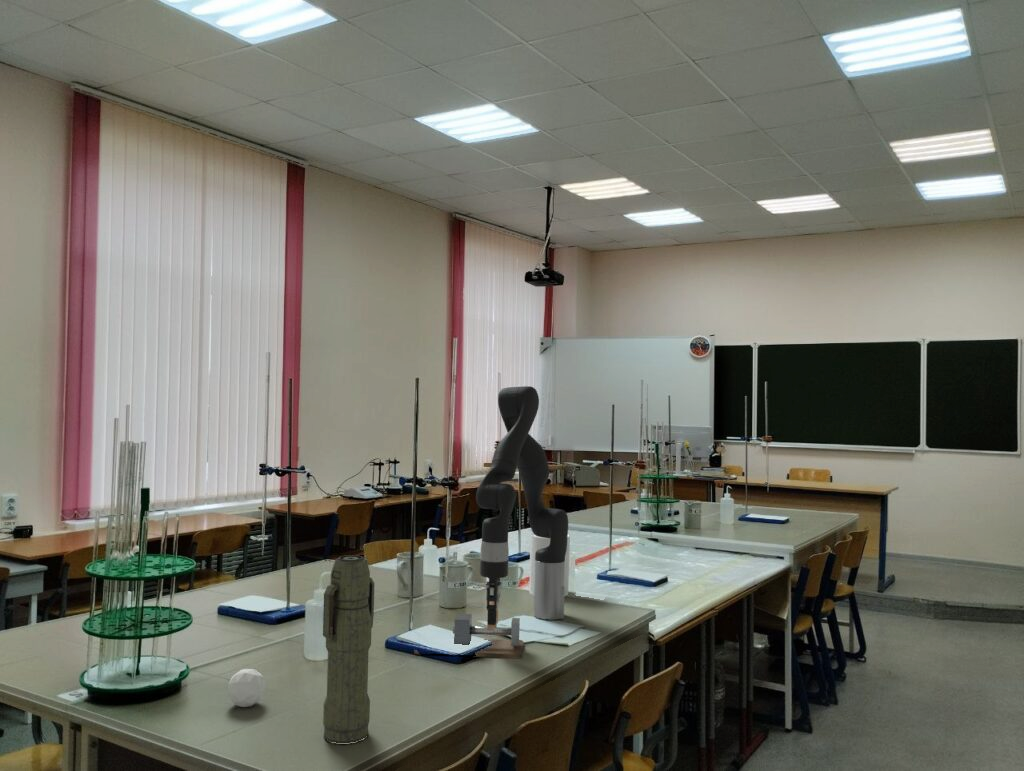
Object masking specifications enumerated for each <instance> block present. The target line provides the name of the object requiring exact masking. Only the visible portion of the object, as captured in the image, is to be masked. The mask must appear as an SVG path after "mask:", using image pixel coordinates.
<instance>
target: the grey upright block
mask: <svg viewBox="0 0 1024 771" xmlns="http://www.w3.org/2000/svg"><path fill="white" fill-rule="evenodd" d="M472 620H473V614H472V613H456V616H455V617H454V625H453V626H454V633H453V635H454V637H453V638H454V644H462V645H469V644H470V641H471V638H472V634H470V626H472V624H473V621H472Z"/></svg>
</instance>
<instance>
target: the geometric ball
mask: <svg viewBox="0 0 1024 771" xmlns="http://www.w3.org/2000/svg"><path fill="white" fill-rule="evenodd" d="M265 689H266V680H265V679H264V676H263V675H262V674H261V673H260V671H259V672H258V671H257V670H256V669H254V668H242V669H241V670H239V671H237V672H236V673H235V674H233V675H232V676H231V679H230V681H229V683H228V686H227V696H228V697H229V700H230V701H231V702H232V704H234V705H236V706H237V707H239V708H240V707H241V708H248V707H249V708H250V707H252V706H254V705H255V704H257V703H258V702H259V701H261V700H262V698H263V695H264V693H265Z"/></svg>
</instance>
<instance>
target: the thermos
mask: <svg viewBox="0 0 1024 771" xmlns="http://www.w3.org/2000/svg"><path fill="white" fill-rule="evenodd" d="M370 574H371V572H370V568H369V563H368V561H367V559H366V558H365V557H363V556H362V555H361V556H360V555H356V554H355V555H342V556H339V557H338V558H335V561H334V563H333V566H332V568H331V572H330V584H329V585H328V586H327V587H326V589H325V591H324V592H323V612H322V613H323V614H322V615H323V616H322V617H323V619H322V620H323V621H322V636H323V637H324V638H325V648H326V651H327V675H326V676H327V679H326V697H325V699H324V702H323V717H322V718H323V719H322V720H323V721H322V723H323V727H324V728H323V729H324V730H323V739H324V738H325V739H326V740H328V741H330V742H336V743H350V742H356V741H359V740H361V739H363V738H365V737H366V736H367V735H368V736H369V723H370V718H371V717H370V715H371V714H370V712H371V711H370V710H371V708H370V707H371V703H370V702H371V700H370V696H369V693H368V685H369V684H368V682H369V681H368V680H369V650H370V648H371V645H372V628H373V627H374V618H375V617H374V615H375V614H374V613H375V610H374V609H375V581H374V580H373V577H371V575H370ZM325 739H324V740H325ZM326 740H325V741H326Z"/></svg>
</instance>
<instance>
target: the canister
mask: <svg viewBox="0 0 1024 771" xmlns="http://www.w3.org/2000/svg"><path fill="white" fill-rule="evenodd" d="M529 541H530V542H529V543H530V544H529V545H530V546H529V548H530V549H529V550H530V551H529V587H528V588H529V590H528V591H529V592H528V593H529V594H530V595H531V596H534V590H535V553H536V551H537V550H539V549H542V548H546V547H548V546H549V545H550V538H543V537H538V536H536V535H535V534H534V533H533V532H532V533H530V540H529ZM569 576H570V534H568V537H567V550H566V554H565V577H564V588H565V590H564V597H566V596H568V595H569V578H570V577H569Z"/></svg>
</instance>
